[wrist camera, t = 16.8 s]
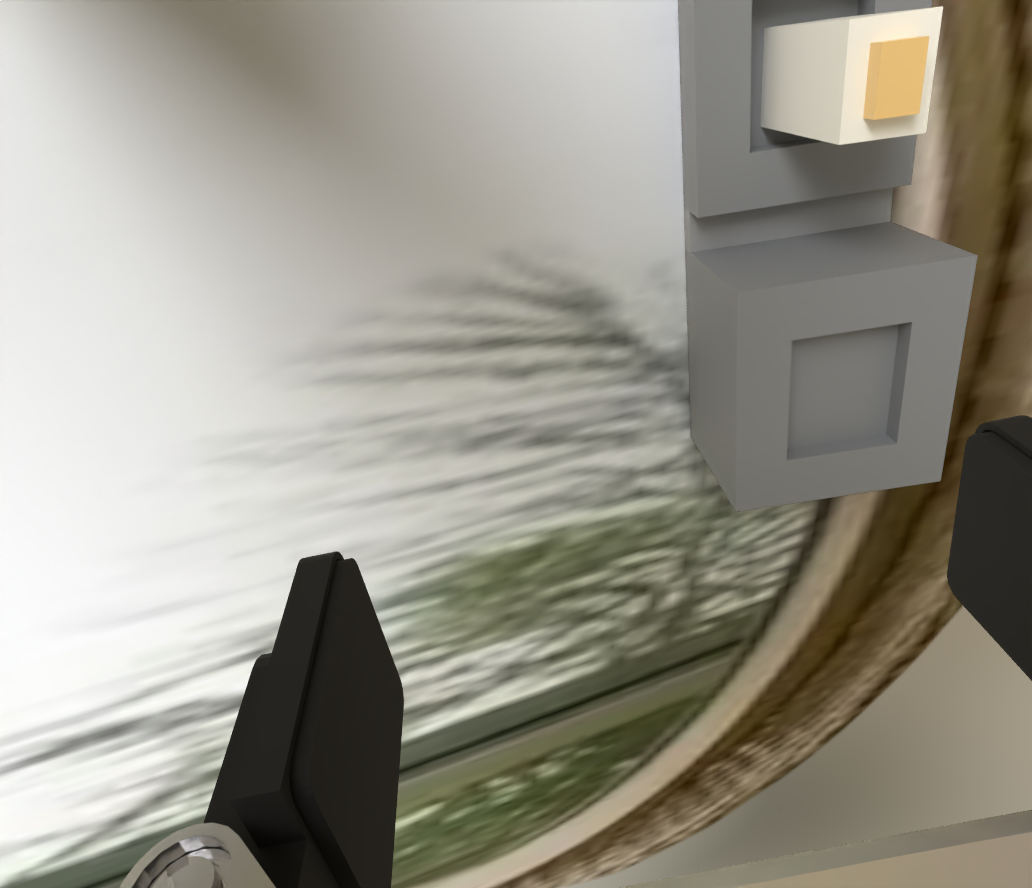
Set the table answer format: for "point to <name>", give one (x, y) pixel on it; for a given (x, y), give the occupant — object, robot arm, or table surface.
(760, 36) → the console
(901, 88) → the plug
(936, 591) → the table surface
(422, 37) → the table surface
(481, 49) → the table surface
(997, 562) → the robot arm
